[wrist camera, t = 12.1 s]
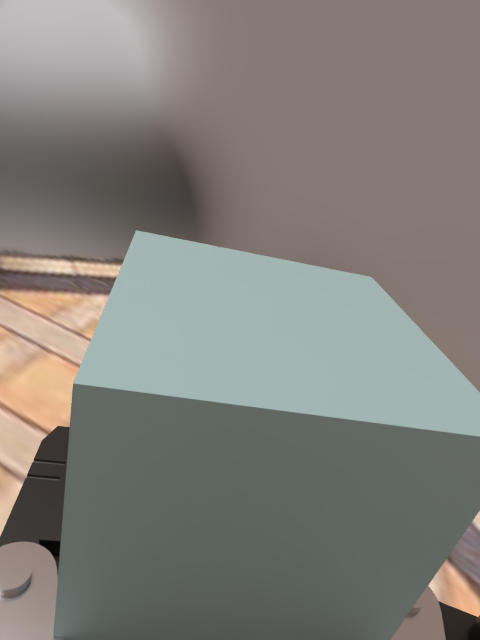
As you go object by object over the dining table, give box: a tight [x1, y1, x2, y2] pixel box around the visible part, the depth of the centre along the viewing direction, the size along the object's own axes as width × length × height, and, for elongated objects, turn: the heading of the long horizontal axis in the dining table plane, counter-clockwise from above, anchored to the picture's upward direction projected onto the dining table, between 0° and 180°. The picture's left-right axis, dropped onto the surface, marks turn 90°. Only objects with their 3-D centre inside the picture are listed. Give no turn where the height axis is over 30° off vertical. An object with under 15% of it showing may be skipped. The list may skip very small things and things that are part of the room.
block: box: [53, 231, 480, 640], centre depth 9 cm, size 5×5×12 cm
